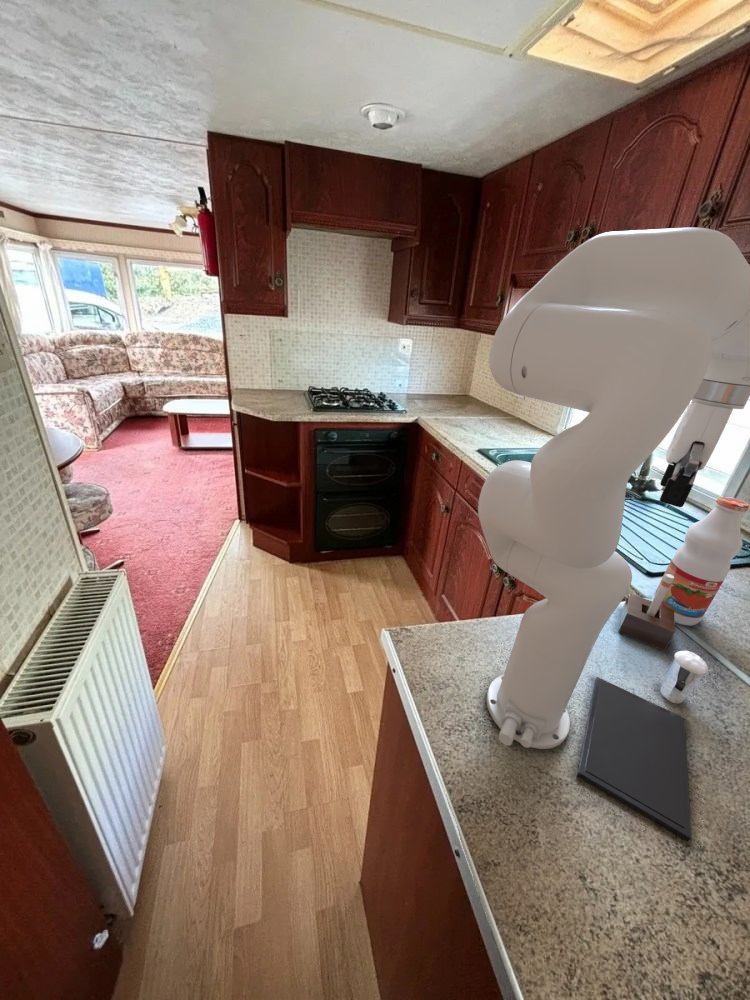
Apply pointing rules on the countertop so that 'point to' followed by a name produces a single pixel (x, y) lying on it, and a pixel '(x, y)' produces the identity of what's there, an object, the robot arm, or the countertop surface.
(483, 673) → the countertop surface
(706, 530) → the fruit juice
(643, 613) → the pen stand
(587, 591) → the robot arm
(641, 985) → the countertop surface
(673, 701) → the milkshake
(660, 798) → the tablet
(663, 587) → the stylus
